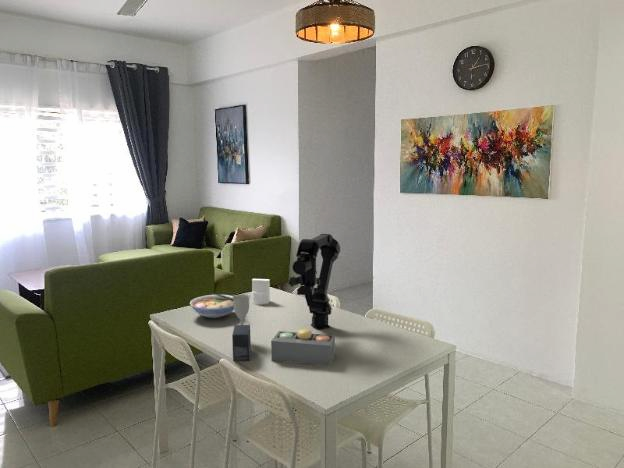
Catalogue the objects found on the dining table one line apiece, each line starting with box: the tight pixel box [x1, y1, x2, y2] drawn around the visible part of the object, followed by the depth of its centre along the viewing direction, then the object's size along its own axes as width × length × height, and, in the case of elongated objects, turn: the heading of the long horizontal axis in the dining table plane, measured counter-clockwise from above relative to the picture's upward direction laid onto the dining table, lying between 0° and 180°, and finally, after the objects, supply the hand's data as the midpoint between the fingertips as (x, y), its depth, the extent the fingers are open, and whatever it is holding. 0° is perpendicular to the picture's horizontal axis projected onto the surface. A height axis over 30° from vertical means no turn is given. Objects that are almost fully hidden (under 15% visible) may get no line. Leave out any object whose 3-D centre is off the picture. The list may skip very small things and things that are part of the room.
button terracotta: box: [316, 334, 330, 342], centre depth 180 cm, size 5×5×3 cm
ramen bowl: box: [189, 292, 235, 319], centre depth 227 cm, size 25×23×8 cm
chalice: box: [232, 293, 251, 325], centre depth 197 cm, size 7×7×18 cm
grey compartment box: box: [270, 330, 336, 366], centre depth 180 cm, size 11×22×8 cm, turn 78°
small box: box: [231, 324, 252, 362], centre depth 181 cm, size 11×6×10 cm, turn 5°
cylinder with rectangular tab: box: [251, 278, 271, 306], centre depth 250 cm, size 9×9×12 cm
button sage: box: [280, 331, 293, 339], centre depth 183 cm, size 5×5×3 cm
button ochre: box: [297, 328, 312, 340], centre depth 181 cm, size 5×5×3 cm
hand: (309, 306), depth 200 cm, fingers closed
